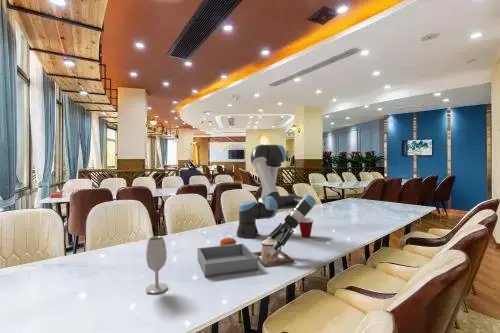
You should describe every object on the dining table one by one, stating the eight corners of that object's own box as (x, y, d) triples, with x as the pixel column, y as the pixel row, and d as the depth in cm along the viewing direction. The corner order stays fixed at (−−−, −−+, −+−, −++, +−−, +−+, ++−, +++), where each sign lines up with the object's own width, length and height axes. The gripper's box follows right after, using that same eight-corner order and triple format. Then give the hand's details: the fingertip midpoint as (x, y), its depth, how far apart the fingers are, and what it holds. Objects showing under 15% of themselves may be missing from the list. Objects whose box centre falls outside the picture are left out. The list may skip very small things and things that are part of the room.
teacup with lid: (267, 263, 146) (267, 240, 145) (257, 258, 153) (257, 236, 153) (286, 259, 152) (286, 237, 152) (276, 254, 160) (275, 233, 160)
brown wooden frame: (252, 255, 159) (252, 252, 159) (279, 251, 164) (279, 249, 164) (263, 266, 141) (263, 263, 141) (294, 262, 146) (294, 259, 146)
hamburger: (222, 246, 175) (222, 235, 175) (237, 247, 173) (237, 236, 173) (217, 251, 166) (217, 240, 166) (234, 252, 164) (234, 240, 164)
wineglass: (148, 285, 122) (147, 235, 121) (170, 284, 122) (169, 235, 122) (142, 295, 113) (141, 241, 112) (165, 293, 114) (164, 240, 113)
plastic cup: (296, 238, 193) (295, 220, 192) (299, 234, 203) (299, 217, 202) (312, 239, 189) (312, 221, 188) (315, 235, 199) (315, 218, 198)
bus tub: (197, 259, 153) (197, 248, 153) (242, 254, 161) (242, 243, 160) (205, 277, 129) (204, 264, 129) (257, 270, 137) (257, 257, 137)
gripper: (281, 210, 165) (255, 241, 161) (298, 217, 145) (269, 252, 140) (289, 219, 167) (264, 249, 163) (308, 227, 147) (279, 262, 142)
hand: (266, 251), depth 151 cm, fingers closed on teacup with lid, 9 cm apart
